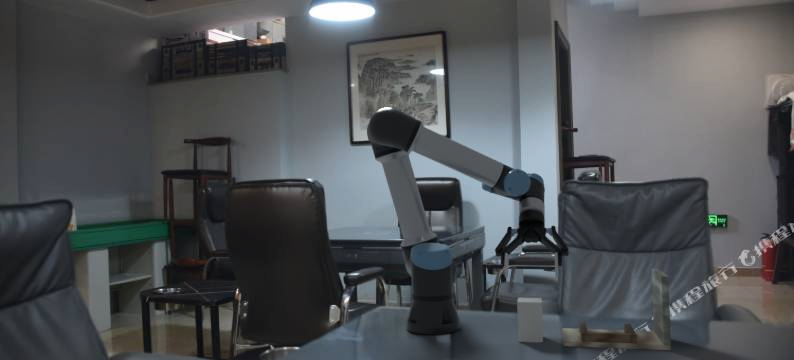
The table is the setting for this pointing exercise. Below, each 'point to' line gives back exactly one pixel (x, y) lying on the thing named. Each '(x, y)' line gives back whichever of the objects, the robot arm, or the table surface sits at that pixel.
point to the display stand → (628, 336)
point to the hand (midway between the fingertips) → (531, 274)
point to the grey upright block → (530, 320)
